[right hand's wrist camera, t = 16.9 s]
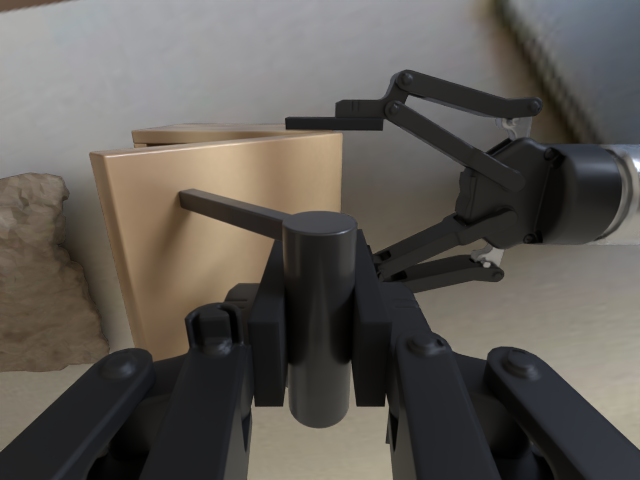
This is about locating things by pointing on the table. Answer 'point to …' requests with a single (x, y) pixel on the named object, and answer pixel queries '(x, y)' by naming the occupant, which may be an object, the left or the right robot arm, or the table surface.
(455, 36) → the table surface
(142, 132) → the chest
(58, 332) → the stone
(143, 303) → the lid
